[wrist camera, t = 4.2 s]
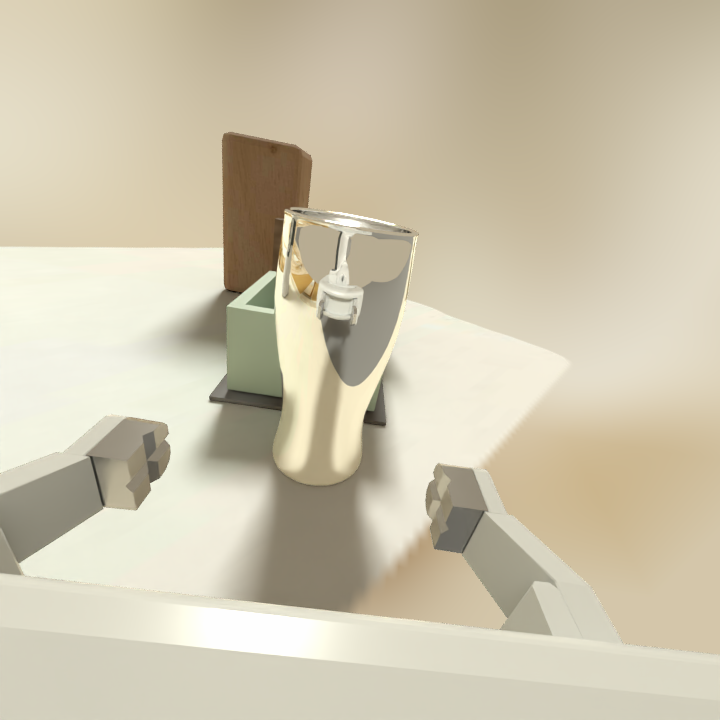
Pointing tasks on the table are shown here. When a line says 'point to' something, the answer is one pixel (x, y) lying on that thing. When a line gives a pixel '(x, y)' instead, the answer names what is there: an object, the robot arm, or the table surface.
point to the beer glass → (334, 334)
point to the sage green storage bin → (257, 342)
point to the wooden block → (257, 201)
